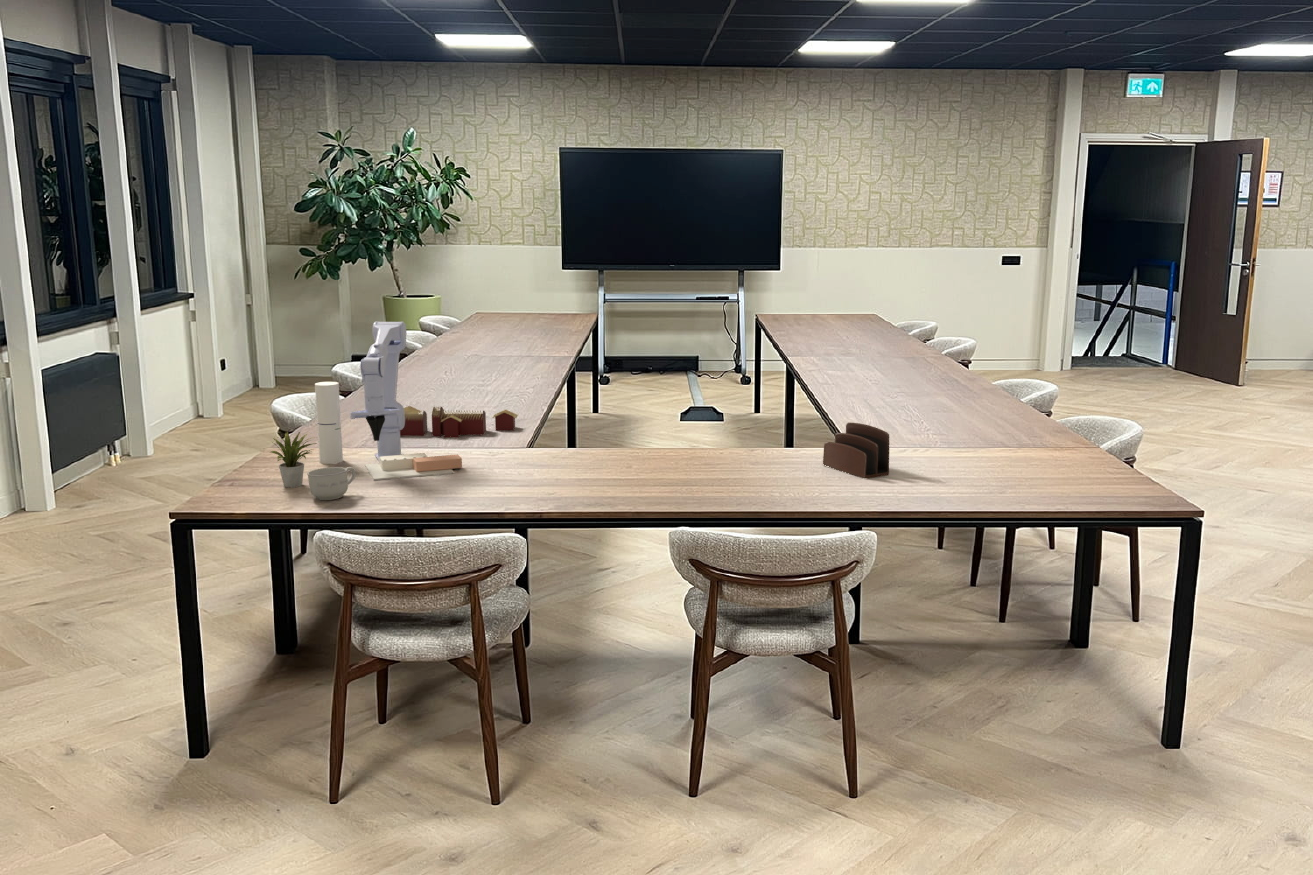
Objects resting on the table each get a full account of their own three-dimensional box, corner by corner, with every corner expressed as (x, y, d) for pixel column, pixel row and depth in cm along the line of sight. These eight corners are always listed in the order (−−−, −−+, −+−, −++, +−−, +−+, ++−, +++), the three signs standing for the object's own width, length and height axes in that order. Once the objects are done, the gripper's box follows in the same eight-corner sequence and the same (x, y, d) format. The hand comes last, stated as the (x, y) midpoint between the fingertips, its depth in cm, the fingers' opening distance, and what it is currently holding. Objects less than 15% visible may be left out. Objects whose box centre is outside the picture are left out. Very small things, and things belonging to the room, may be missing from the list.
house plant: (302, 494, 321) (298, 437, 317) (257, 491, 324) (253, 435, 320) (326, 481, 335) (323, 427, 331) (283, 479, 337) (279, 425, 334)
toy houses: (384, 438, 394) (382, 410, 392) (395, 426, 414) (394, 399, 412) (513, 438, 395) (513, 409, 393) (519, 426, 415) (518, 399, 413)
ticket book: (379, 466, 351) (379, 456, 351) (424, 462, 357) (424, 452, 356) (382, 470, 346) (382, 460, 345) (428, 466, 351) (428, 456, 351)
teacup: (316, 505, 310) (315, 476, 308) (303, 496, 318) (301, 468, 317) (365, 497, 318) (364, 469, 316) (351, 489, 327) (349, 462, 325)
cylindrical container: (316, 460, 360) (311, 383, 355) (337, 457, 364) (333, 380, 359) (324, 464, 355) (319, 386, 349) (346, 461, 359) (342, 384, 353)
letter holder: (846, 462, 362) (848, 419, 359) (889, 475, 346) (891, 430, 343) (822, 466, 357) (823, 422, 354) (864, 479, 341) (866, 433, 338)
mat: (364, 466, 353) (364, 464, 353) (441, 459, 362) (441, 458, 362) (373, 480, 336) (373, 478, 336) (454, 473, 345) (454, 471, 345)
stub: (413, 467, 349) (412, 458, 348) (458, 463, 354) (457, 454, 353) (416, 471, 344) (416, 462, 343) (462, 467, 349) (461, 458, 348)
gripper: (351, 400, 337) (353, 444, 340) (400, 397, 343) (402, 441, 346) (348, 396, 344) (350, 440, 347) (396, 393, 349) (398, 436, 352)
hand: (376, 440), depth 346 cm, fingers closed
